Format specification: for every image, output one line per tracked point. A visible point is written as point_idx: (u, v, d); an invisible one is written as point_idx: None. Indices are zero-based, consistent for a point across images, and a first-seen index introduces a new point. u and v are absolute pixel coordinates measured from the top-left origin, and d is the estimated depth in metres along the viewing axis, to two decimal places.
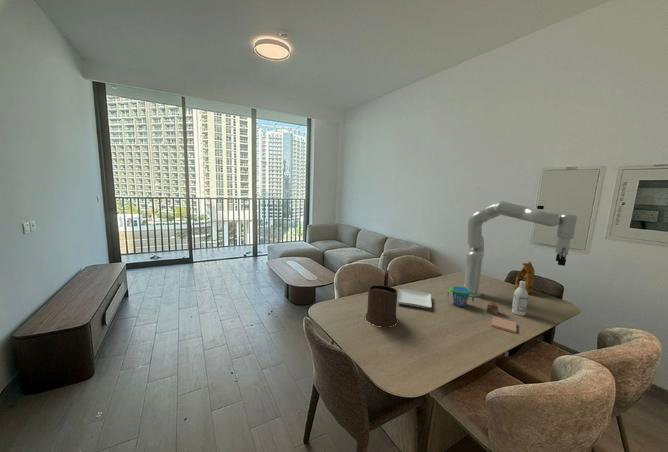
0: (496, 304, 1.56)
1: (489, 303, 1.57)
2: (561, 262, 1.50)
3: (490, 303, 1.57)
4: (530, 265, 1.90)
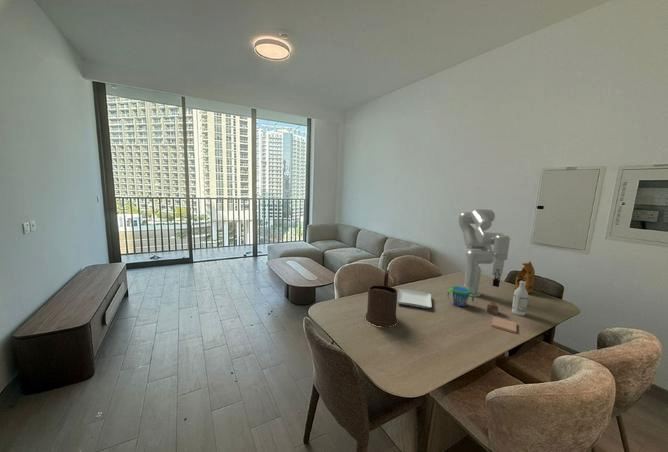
0: (496, 304, 1.56)
1: (489, 303, 1.57)
2: (495, 283, 1.49)
3: (490, 303, 1.57)
4: (530, 265, 1.90)
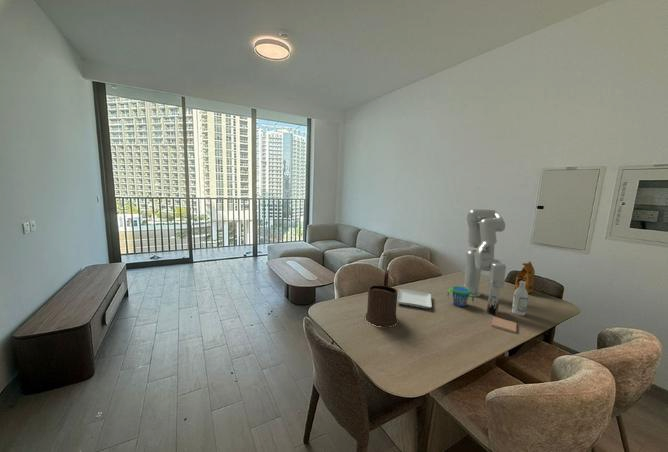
0: (496, 304, 1.56)
1: (489, 303, 1.57)
2: (491, 311, 1.54)
3: (490, 303, 1.57)
4: (530, 265, 1.90)
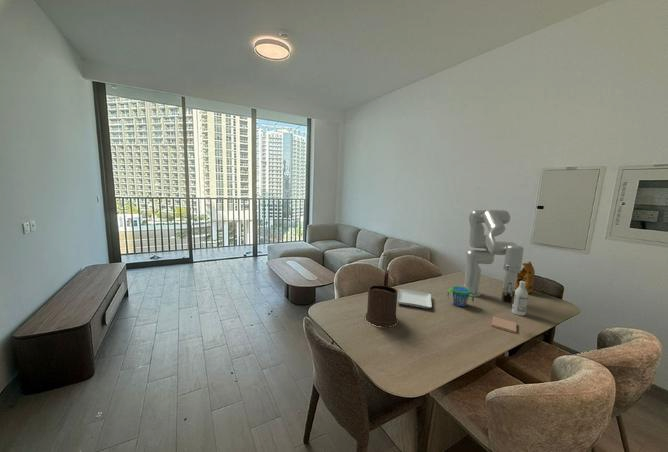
0: (512, 292, 1.38)
1: (504, 291, 1.39)
2: (507, 299, 1.36)
3: (505, 291, 1.40)
4: (530, 265, 1.90)
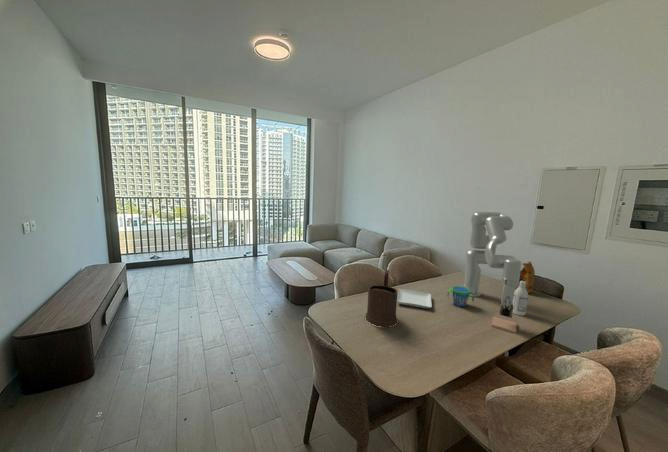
0: (510, 305, 1.39)
1: (502, 304, 1.41)
2: (505, 313, 1.37)
3: (503, 304, 1.41)
4: (530, 265, 1.90)
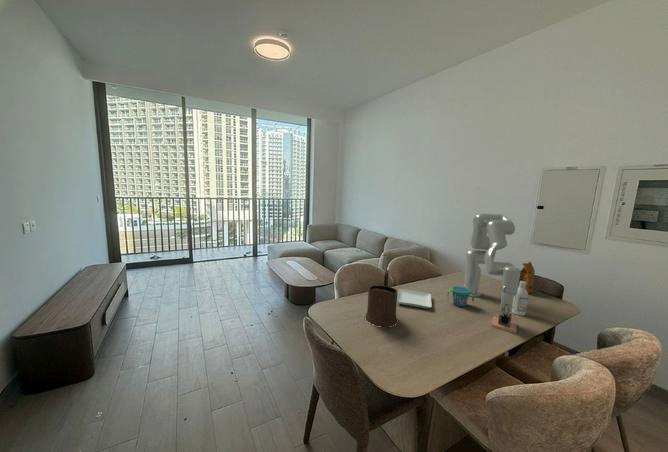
0: (509, 314, 1.41)
1: (501, 313, 1.42)
2: (504, 320, 1.37)
3: (502, 313, 1.42)
4: (530, 265, 1.90)
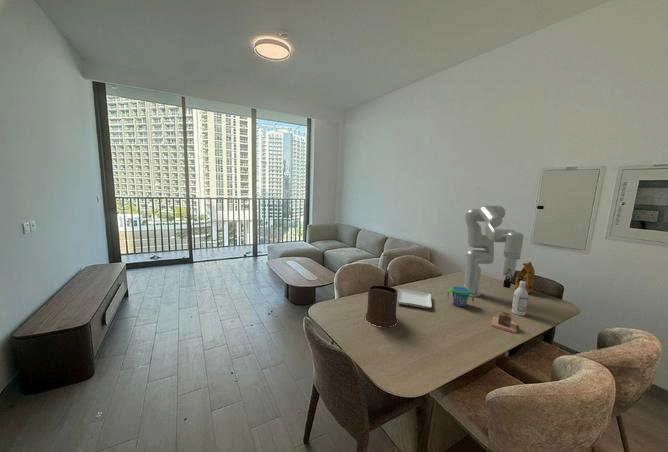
0: (509, 314, 1.41)
1: (501, 313, 1.42)
2: (506, 284, 1.38)
3: (502, 313, 1.42)
4: (530, 265, 1.90)
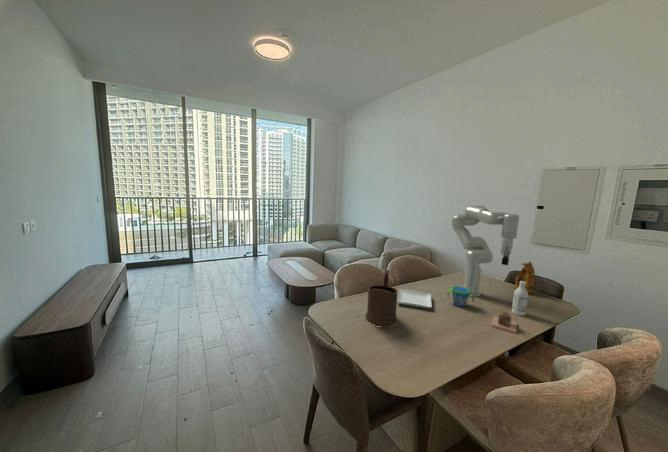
0: (509, 314, 1.41)
1: (501, 313, 1.42)
2: (504, 262, 1.51)
3: (502, 313, 1.42)
4: (530, 265, 1.90)
